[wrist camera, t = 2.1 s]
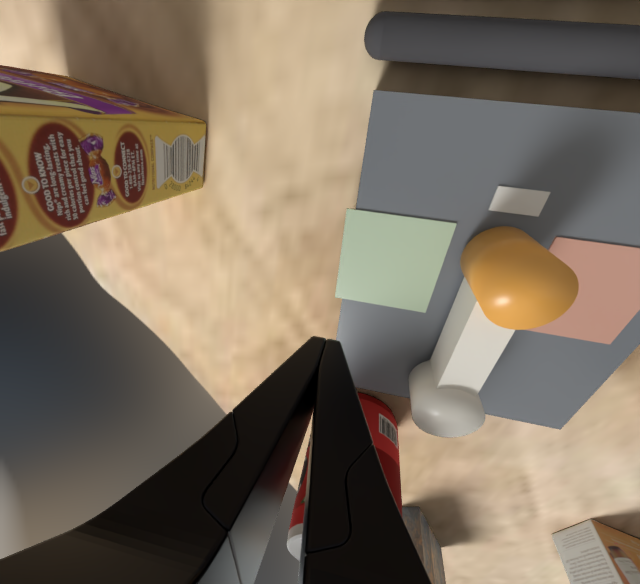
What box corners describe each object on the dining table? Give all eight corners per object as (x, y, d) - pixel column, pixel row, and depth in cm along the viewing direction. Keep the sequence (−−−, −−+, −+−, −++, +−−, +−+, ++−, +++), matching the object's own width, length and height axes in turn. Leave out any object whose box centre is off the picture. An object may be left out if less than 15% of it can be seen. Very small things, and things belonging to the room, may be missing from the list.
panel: (788, 129, 12) (841, 130, 11) (549, 411, 23) (561, 430, 22) (364, 92, 14) (362, 88, 13) (326, 366, 25) (323, 381, 24)
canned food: (322, 380, 26) (290, 522, 17) (408, 402, 25) (423, 562, 16) (311, 427, 30) (280, 562, 21) (385, 446, 30) (386, 594, 20)
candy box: (208, 113, 16) (-437, 89, 3) (206, 188, 19) (-183, 340, 6) (64, 67, 16) (-1072, -121, 4) (80, 147, 19) (-574, 206, 6)
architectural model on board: (394, 503, 36) (398, 614, 28) (418, 503, 35) (429, 619, 27) (418, 542, 41) (427, 648, 33) (440, 543, 40) (455, 653, 32)
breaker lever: (460, 405, 22) (474, 458, 18) (402, 393, 22) (406, 442, 19) (556, 232, 14) (610, 267, 11) (466, 220, 15) (491, 250, 11)
